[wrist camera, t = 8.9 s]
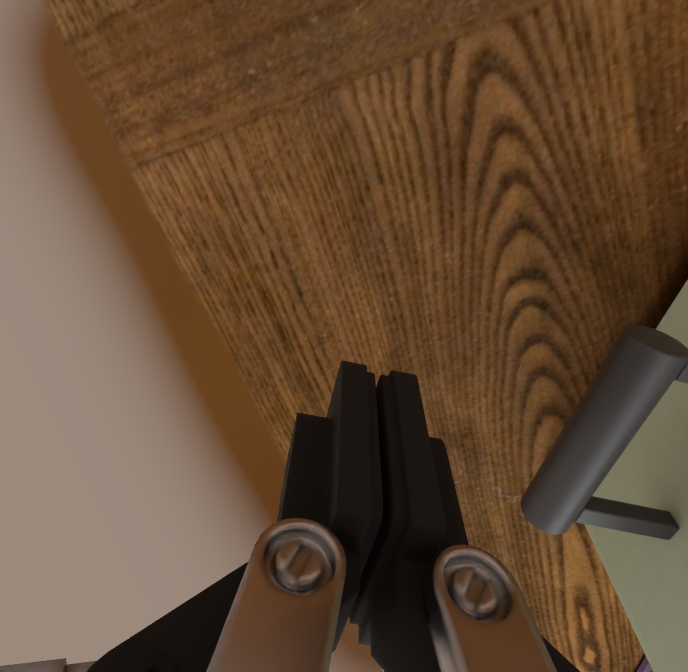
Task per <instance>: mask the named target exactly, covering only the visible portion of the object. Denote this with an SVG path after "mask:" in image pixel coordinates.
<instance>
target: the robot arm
mask: <svg viewBox="0 0 688 672" xmlns="http://www.w3.org/2000/svg"><path fill="white" fill-rule="evenodd" d="M348 617H349V619H350V623H352V624H359V644H365V645H371V655H372V656H373V658H374V659H375V660H376V661H377V663H378V664H379V665H380V666H381V668H382V671H381V672H580V671H579V670H578V669H577V668H576V667H575V666H573V665H572V664H571V663H570V662H569V661H568V660H567V659H566V658H565V657H564V656H563V655H562V654H561V653H559V652H558V651H557V650H556V649H555V648H554V647H553V646H552V645H551V644H550V643H549V642H548V641H547V640H546V639H544V638H543V637H542V636H541V635H540V632H539V630H538V628H537V626H536V624H535V621H534V619H533V617H532V615H531V612H530V610H529V608H528V606H527V604H526V601H525V599H524V597H523V595H522V592H521V590H520V588H519V586H518V584H517V582H516V581H515V579H514V577H513V576H512V574H511V572H510V571H509V570H508V569H507V568H506V567H505V566H504V565H503V564H502V563H501V561H499V560H498V559H497V558H495V557H494V556H492V555H491V554H490V553H488V552H486V551H484V550H482V549H479V548H477V547H474V546H469V545H468V540H467V536H466V532H465V528H464V523H463V519H462V515H461V511H460V506H459V502H458V498H457V494H456V489H455V485H454V481H453V477H452V472H451V468H450V464H449V460H448V455H447V451H446V447H445V444H444V442H443V441H442V440H441V439H438V438H432V437H429V435H428V430H427V425H426V420H425V415H424V409H423V404H422V399H421V394H420V389H419V384H418V379H417V376H416V375H413V374H408V373H403V372H398V371H393V370H392V371H390V373H389V375H388V376H385V375H381V376H380V378H379V380H378V383H377V387H376V384H375V374H374V373H370V372H367V366H366V365H362V364H357V363H352V362H347V361H342V362H341V364H340V368H339V371H338V375H337V379H336V383H335V386H334V390H333V394H332V398H331V402H330V406H329V409H328V413H327V417H326V418H324V417H318V416H313V415H307V414H302V413H297V416H296V421H295V425H294V430H293V434H292V439H291V443H290V448H289V453H288V459H287V464H286V469H285V475H284V481H283V487H282V492H281V498H280V505H279V510H278V516H277V522H276V523H274V524H272V525H271V526H270V527H269V528H267V529H266V530H265V531H264V532H263V533H262V534H261V536H260V537H259V539H258V541H257V542H256V544H255V547H254V549H253V552H252V554H251V557H250V560H249V561H248V562H247V563H245V564H244V565H242V566H241V567H239V568H238V569H236V570H234V571H233V572H231V573H230V574H228V575H227V576H225V577H224V578H222V579H221V580H219V581H218V582H216V583H214V584H213V585H211V586H210V587H208V588H207V589H205V590H203V591H202V592H200V593H199V594H197V595H196V596H194V597H193V598H191V599H189V600H188V601H186V602H185V603H183V604H182V605H180V606H179V607H177V608H175V609H174V610H172V611H171V612H169V613H168V614H166V615H165V616H163V617H162V618H160V619H158V620H157V621H155V622H154V623H152V624H151V625H149V626H147V627H146V628H144V629H143V630H141V631H140V632H138V633H137V634H135V635H134V636H132V637H130V638H129V639H127V640H126V641H124V642H123V643H121V644H120V645H118V646H116V647H115V648H113V649H112V650H110V651H109V652H107V653H106V654H105V655H104V656H102V657H101V658H100V659H99V660H98V661H93V662H85V663H77V664H69V665H67V662H66V658H65V659H57V660H49V661H40V662H32V663H23V664H15V665H7V666H0V672H328V671H329V665H330V659H331V654H332V652H333V651H334V650H335V649H336V646H337V644H338V642H339V639H340V636H341V634H342V632H343V629H344V627H345V624H346V622H347V619H348Z"/></svg>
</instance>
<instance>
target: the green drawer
mask: <svg viewBox="0 0 688 672" xmlns="http://www.w3.org/2000/svg"><path fill="white" fill-rule="evenodd" d="M521 509H522V511H523V513H524V515H525V517H526V518H527V519H528V520H529V521H530V522H531V523H532V524H533V525H534V526H535V527H537V528H538V529H540V530H542V531H544V532H546V533H549V534H555V535H558V534H563V533H565V532H566V531H567V530H568V529H569V528H570V526H571V525H572V523H573V522H574V521H575V522H577V523H582V524H584V525H585V527H586V529H587V531H588V533H589V535H590V537H591V540H592V542H593V544H594V546H595V548H596V550H597V552H598V555H599V557H600V559H601V561H602V563H603V565H604V567H605V570H606V572H607V574H608V576H609V578H610V580H611V582H612V585H613V587H614V589H615V591H616V593H617V595H618V597H619V600H620V602H621V604H622V606H623V608H624V610H625V612H626V614H627V617H628V619H629V621H630V623H631V625H632V627H633V629H634V632H635V634H636V636H637V638H638V640H639V642H640V644H641V647H642V649H643V651H644V653H645V655H646V657H647V659H648V662H649V664H650V666H651V668H652V670H653V672H688V280H687V281H686V283H685V284H684V286H683V287H682V289H681V290H680V292H679V294H678V295H677V297H676V298H675V300H674V301H673V303H672V304H671V306H670V308H669V309H668V311H667V312H666V314H665V315H664V317H663V318H662V320H661V322H660V323H659V325H658V326H657V328H656V329H653V328H650V327H647V326H642V325H636V324H630V325H627V326H626V327H624V329H623V331H622V332H621V334H620V336H619V337H618V339H617V341H616V342H615V344H614V346H613V347H612V349H611V351H610V352H609V354H608V356H607V357H606V359H605V361H604V362H603V364H602V365H601V367H600V369H599V370H598V372H597V374H596V375H595V377H594V379H593V380H592V382H591V384H590V385H589V387H588V389H587V390H586V392H585V394H584V395H583V397H582V399H581V400H580V402H579V404H578V405H577V407H576V409H575V410H574V412H573V414H572V415H571V417H570V419H569V420H568V422H567V424H566V425H565V427H564V429H563V430H562V432H561V434H560V435H559V437H558V439H557V440H556V442H555V444H554V445H553V447H552V449H551V450H550V452H549V454H548V455H547V457H546V459H545V460H544V462H543V463H542V465H541V467H540V468H539V470H538V472H537V473H536V475H535V477H534V478H533V480H532V482H531V483H530V485H529V487H528V488H527V490H526V492H525V493H524V495H523V497H522V499H521Z"/></svg>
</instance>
